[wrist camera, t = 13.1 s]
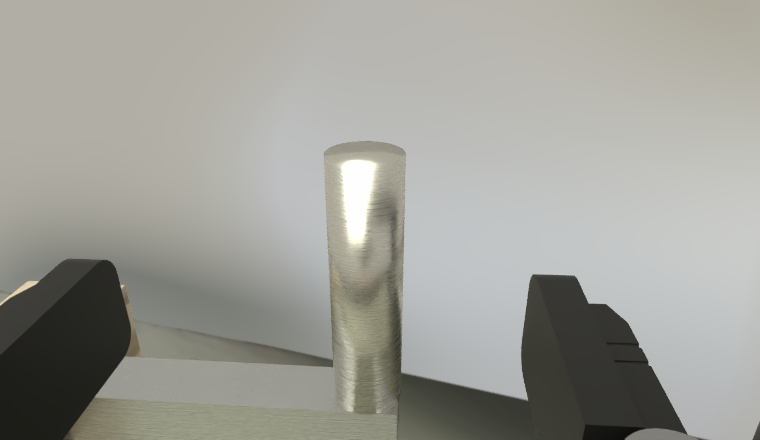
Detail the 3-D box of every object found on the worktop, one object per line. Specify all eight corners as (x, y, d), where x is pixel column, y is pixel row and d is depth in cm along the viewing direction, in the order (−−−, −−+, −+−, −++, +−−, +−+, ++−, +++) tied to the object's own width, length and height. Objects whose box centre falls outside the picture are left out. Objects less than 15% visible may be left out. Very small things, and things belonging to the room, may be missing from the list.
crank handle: (401, 414, 29) (407, 142, 23) (398, 463, 26) (404, 168, 20) (15, 391, 31) (-81, 130, 24) (-28, 436, 28) (-149, 153, 21)
